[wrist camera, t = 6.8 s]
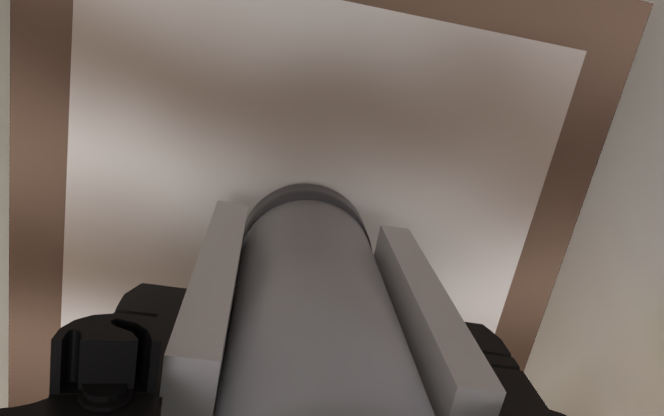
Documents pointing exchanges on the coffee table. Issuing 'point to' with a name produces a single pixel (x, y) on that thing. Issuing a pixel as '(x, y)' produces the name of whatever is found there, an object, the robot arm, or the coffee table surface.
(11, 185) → the writing board
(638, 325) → the coffee table surface
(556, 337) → the coffee table surface
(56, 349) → the robot arm
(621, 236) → the coffee table surface
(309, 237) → the marker
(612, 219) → the coffee table surface
